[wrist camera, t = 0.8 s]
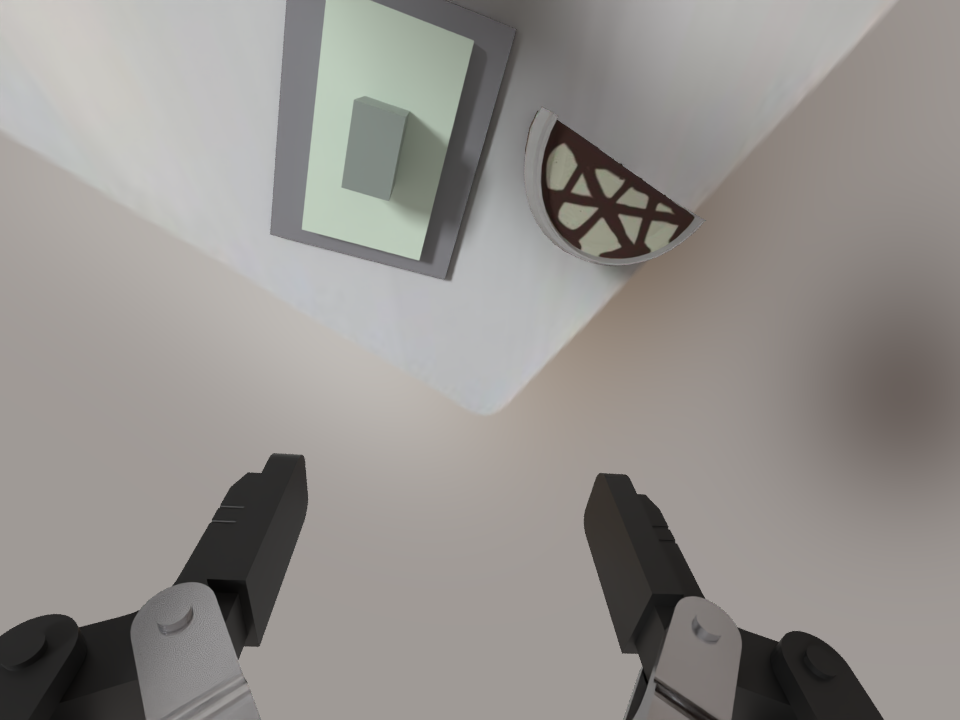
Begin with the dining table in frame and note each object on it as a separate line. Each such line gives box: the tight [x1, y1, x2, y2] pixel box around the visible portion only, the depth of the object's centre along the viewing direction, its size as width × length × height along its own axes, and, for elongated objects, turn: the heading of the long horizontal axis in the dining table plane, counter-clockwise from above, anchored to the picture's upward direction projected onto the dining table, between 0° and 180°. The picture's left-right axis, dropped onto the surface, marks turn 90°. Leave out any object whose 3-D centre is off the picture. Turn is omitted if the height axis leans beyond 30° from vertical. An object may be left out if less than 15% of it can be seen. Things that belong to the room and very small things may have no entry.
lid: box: [302, 0, 474, 260], centre depth 30 cm, size 9×15×6 cm, turn 163°
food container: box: [524, 107, 705, 266], centre depth 31 cm, size 12×6×10 cm, turn 60°
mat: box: [270, 0, 516, 280], centre depth 32 cm, size 14×18×1 cm
